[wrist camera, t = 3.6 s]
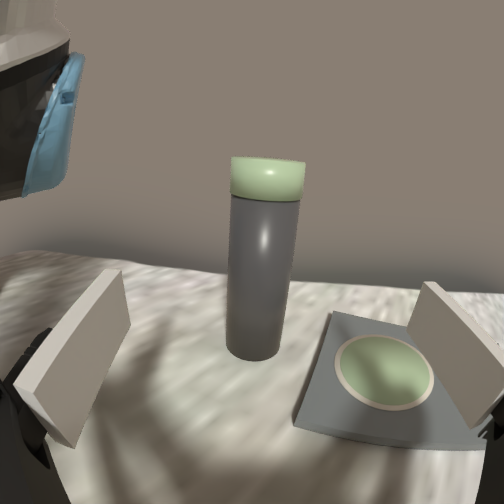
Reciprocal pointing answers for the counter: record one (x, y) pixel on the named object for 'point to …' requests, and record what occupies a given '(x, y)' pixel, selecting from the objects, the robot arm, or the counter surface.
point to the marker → (260, 252)
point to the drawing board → (382, 391)
